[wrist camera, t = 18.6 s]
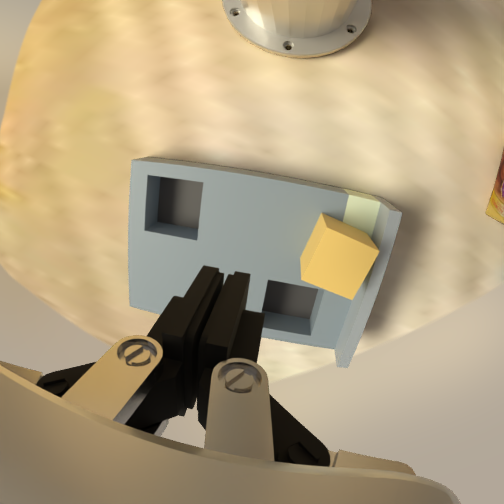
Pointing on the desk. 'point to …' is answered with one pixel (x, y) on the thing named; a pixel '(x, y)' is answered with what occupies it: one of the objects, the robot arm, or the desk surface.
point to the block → (337, 257)
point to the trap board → (251, 245)
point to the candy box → (498, 196)
